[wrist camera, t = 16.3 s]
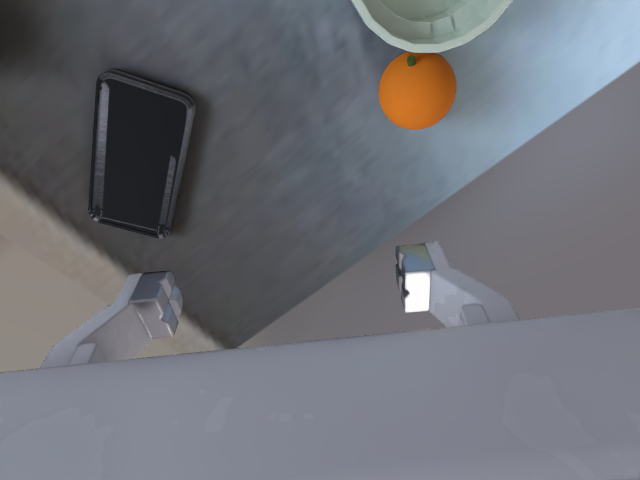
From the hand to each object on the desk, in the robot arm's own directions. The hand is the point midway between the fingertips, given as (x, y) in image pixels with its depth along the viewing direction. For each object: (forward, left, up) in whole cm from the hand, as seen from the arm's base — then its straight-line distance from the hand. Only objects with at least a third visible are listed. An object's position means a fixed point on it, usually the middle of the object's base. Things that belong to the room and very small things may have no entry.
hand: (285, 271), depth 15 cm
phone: (-3, -16, -25) cm, 30 cm away
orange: (+5, +8, -22) cm, 24 cm away
